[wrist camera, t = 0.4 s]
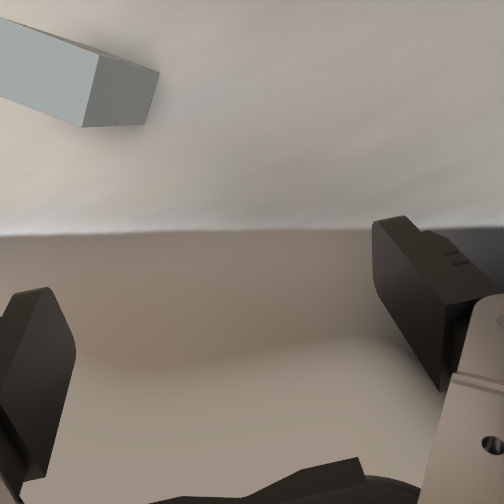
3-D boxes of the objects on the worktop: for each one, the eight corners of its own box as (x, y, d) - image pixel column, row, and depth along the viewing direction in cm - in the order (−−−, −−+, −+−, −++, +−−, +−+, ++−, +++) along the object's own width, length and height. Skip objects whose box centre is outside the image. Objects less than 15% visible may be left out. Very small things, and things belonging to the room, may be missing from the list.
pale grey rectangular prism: (89, 46, 32) (-1, 16, 22) (159, 73, 32) (99, 55, 22) (76, 98, 33) (-15, 90, 23) (144, 123, 33) (81, 127, 23)
